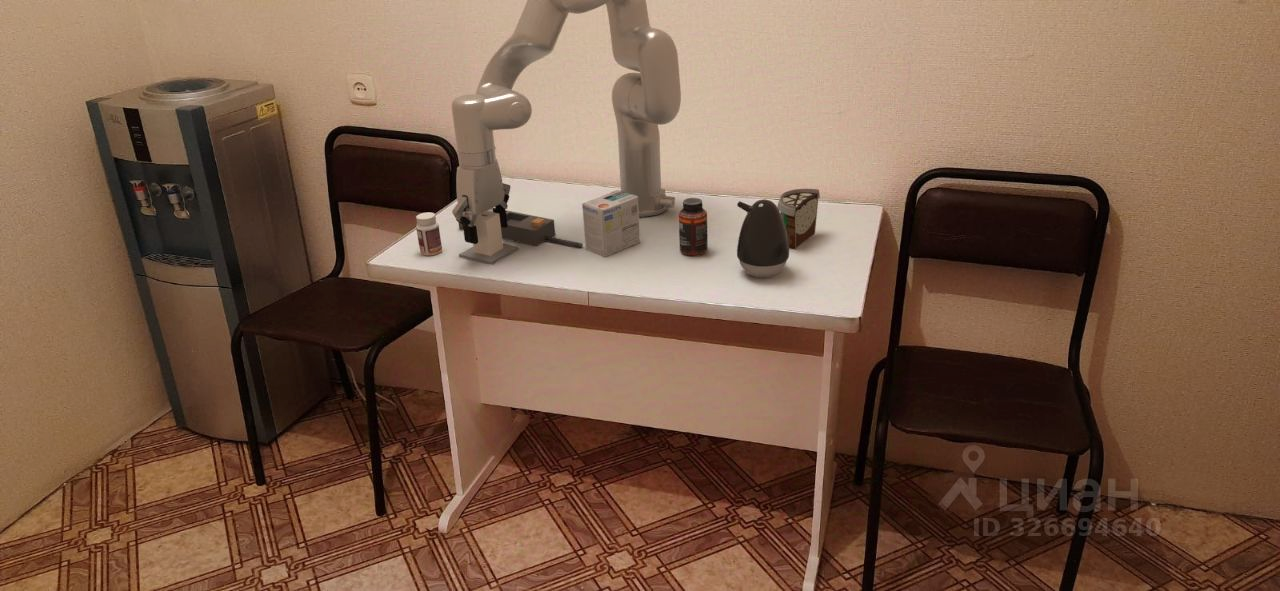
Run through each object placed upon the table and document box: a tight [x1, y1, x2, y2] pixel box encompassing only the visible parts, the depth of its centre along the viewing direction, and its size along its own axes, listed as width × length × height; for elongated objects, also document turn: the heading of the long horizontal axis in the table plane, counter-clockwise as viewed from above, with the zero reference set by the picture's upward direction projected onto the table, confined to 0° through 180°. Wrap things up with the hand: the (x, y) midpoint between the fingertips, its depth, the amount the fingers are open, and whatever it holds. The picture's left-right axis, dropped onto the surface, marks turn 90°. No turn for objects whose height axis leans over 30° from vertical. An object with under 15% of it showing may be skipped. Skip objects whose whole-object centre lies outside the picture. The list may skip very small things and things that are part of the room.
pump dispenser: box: [736, 198, 790, 278], centre depth 176 cm, size 10×10×15 cm
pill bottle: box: [415, 212, 443, 257], centre depth 194 cm, size 5×5×8 cm
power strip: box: [457, 207, 584, 249], centre depth 200 cm, size 32×7×4 cm, turn 59°
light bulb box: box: [581, 189, 641, 258], centre depth 192 cm, size 11×7×11 cm, turn 134°
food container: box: [776, 188, 821, 250], centre depth 191 cm, size 12×6×10 cm, turn 145°
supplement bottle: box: [678, 197, 709, 257], centre depth 187 cm, size 6×6×11 cm
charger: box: [472, 211, 504, 256], centre depth 191 cm, size 4×4×8 cm
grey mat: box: [458, 242, 519, 265], centre depth 193 cm, size 9×9×1 cm
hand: (486, 234), depth 192 cm, fingers open, 9 cm apart
